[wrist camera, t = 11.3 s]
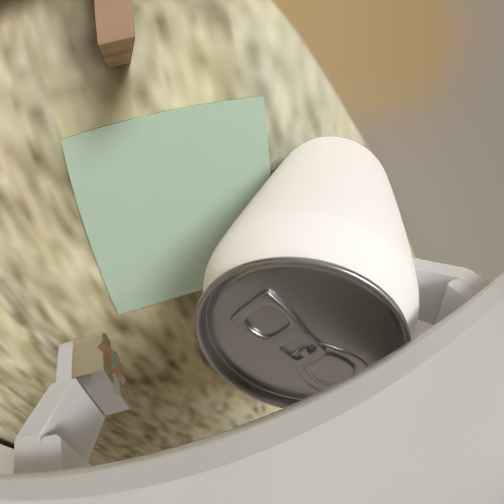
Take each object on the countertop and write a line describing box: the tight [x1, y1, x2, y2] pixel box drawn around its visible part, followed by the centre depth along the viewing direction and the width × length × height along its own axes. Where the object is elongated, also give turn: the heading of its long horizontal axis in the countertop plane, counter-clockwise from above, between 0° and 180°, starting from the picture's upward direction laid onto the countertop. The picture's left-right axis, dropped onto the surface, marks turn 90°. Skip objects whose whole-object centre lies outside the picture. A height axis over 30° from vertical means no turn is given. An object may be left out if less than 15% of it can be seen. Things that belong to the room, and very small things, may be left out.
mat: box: [61, 96, 271, 315], centre depth 17 cm, size 11×11×1 cm
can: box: [194, 137, 419, 408], centre depth 12 cm, size 6×6×12 cm
